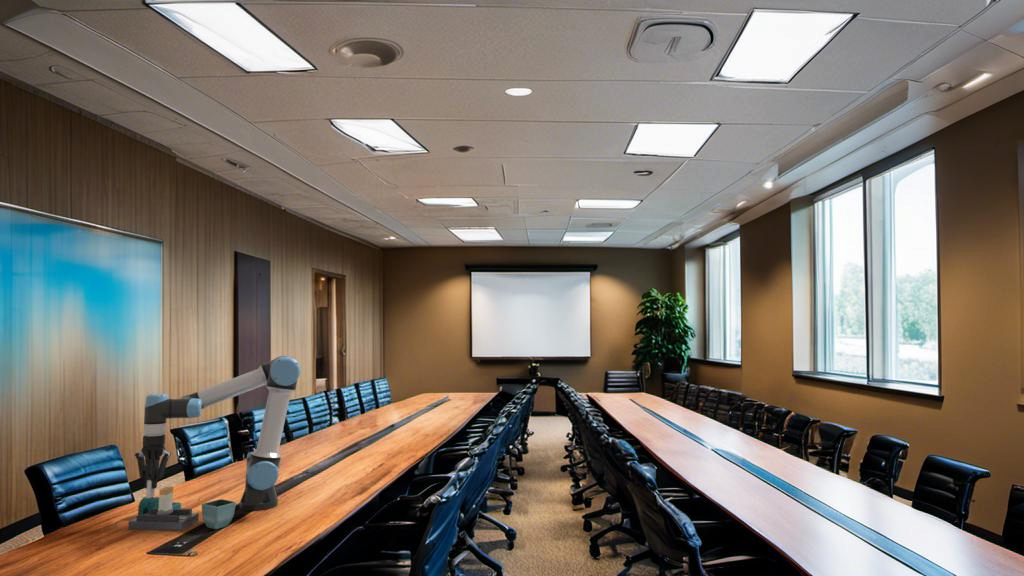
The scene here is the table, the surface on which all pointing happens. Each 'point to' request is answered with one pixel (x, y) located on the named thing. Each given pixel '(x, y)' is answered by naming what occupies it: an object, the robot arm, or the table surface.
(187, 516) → the breaker panel
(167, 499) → the breaker lever
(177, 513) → the dark grey rectangular piece
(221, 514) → the flower pot
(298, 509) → the table surface
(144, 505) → the bracket
